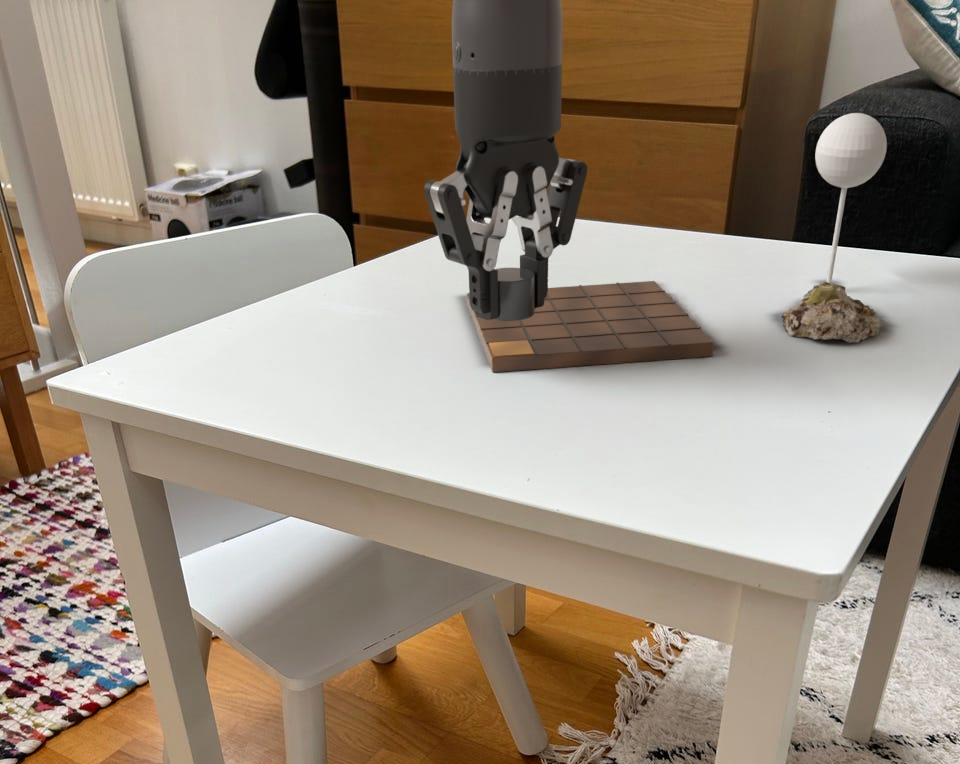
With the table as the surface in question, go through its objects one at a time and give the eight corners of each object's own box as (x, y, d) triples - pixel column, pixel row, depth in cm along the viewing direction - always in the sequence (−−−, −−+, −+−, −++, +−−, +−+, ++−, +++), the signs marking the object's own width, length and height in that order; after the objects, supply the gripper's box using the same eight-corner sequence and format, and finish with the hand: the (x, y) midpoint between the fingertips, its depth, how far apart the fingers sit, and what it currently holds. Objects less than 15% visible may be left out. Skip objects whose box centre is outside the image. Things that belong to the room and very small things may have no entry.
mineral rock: (897, 321, 79) (800, 289, 79) (871, 372, 81) (777, 341, 82) (884, 287, 87) (797, 258, 88) (861, 334, 90) (776, 306, 90)
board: (653, 293, 95) (654, 279, 94) (712, 356, 80) (714, 340, 80) (467, 306, 93) (466, 292, 93) (492, 372, 79) (491, 356, 78)
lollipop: (858, 302, 91) (893, 119, 82) (792, 298, 92) (819, 118, 84) (860, 284, 95) (893, 108, 87) (797, 280, 97) (823, 107, 88)
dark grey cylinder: (530, 304, 80) (530, 265, 78) (538, 319, 77) (539, 279, 75) (481, 307, 79) (480, 269, 78) (487, 322, 76) (486, 283, 74)
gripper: (455, 72, 62) (465, 343, 72) (620, 54, 69) (609, 303, 79) (390, 65, 67) (408, 319, 77) (550, 48, 74) (547, 284, 84)
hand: (509, 310), depth 78 cm, fingers closed on dark grey cylinder, 4 cm apart
